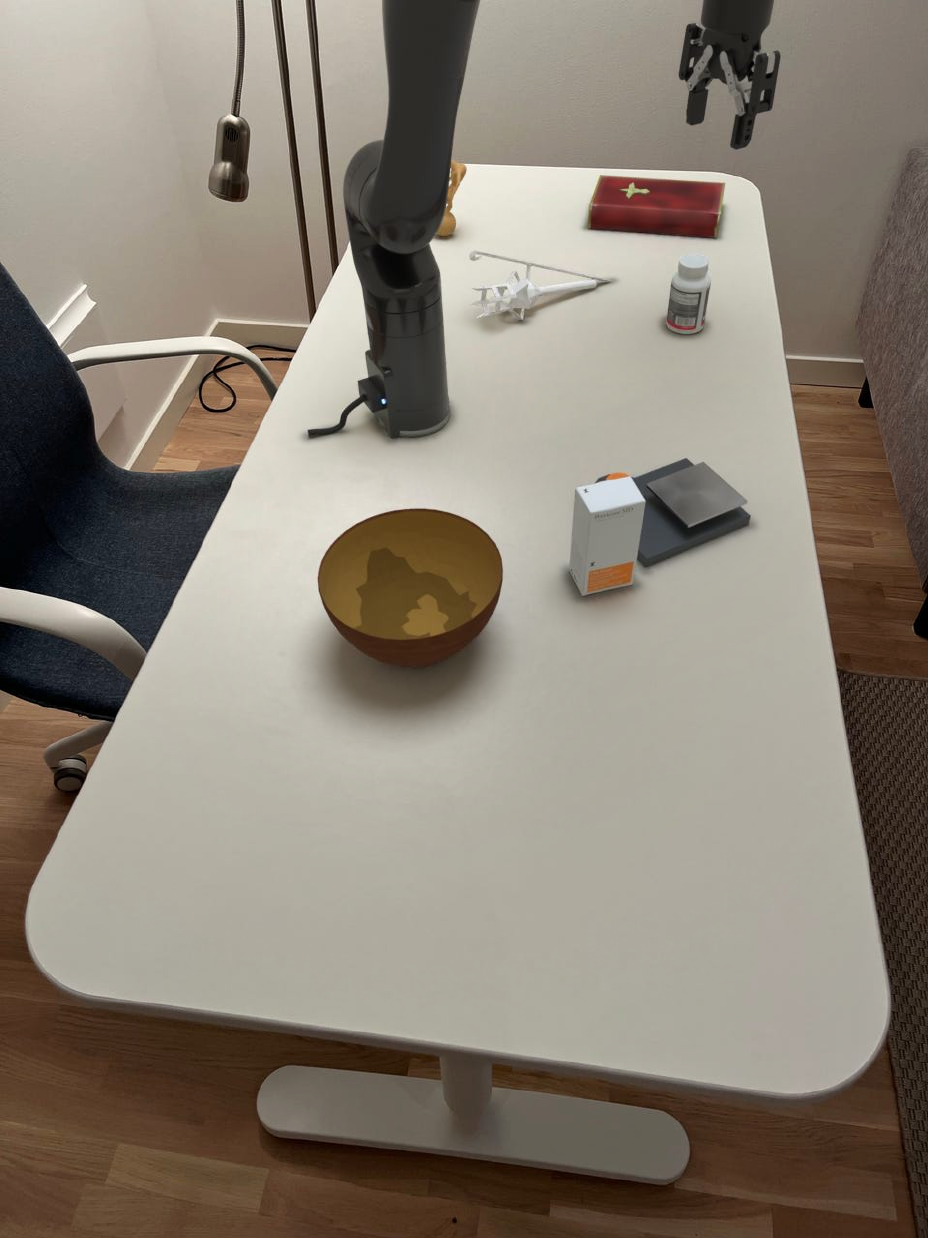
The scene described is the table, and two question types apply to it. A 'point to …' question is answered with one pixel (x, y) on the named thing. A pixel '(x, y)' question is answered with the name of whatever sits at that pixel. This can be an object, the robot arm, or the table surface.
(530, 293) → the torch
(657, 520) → the scale
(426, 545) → the bowl
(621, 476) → the tare button
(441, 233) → the figurine
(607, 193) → the hardcover book
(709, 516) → the weighing pan
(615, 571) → the cosmetic box
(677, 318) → the pill bottle
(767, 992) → the table surface
